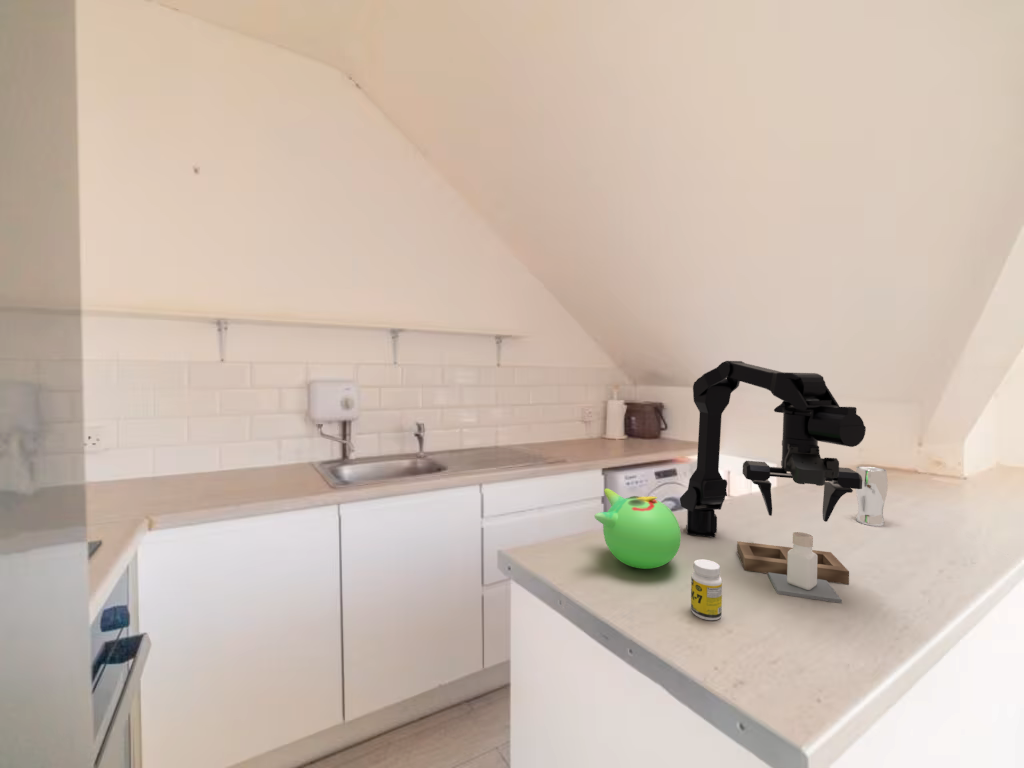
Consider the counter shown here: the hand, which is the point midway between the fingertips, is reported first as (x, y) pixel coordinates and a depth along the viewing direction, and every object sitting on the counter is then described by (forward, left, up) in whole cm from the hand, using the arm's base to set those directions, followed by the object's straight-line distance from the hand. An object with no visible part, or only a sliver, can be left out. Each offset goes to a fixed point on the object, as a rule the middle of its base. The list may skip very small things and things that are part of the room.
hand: (797, 518), depth 86 cm
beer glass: (+30, +49, -13) cm, 58 cm away
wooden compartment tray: (+1, +8, -13) cm, 15 cm away
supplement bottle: (-17, -18, -13) cm, 28 cm away
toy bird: (-29, -1, -13) cm, 32 cm away
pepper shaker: (0, -2, -12) cm, 12 cm away
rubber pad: (+1, -2, -13) cm, 13 cm away
